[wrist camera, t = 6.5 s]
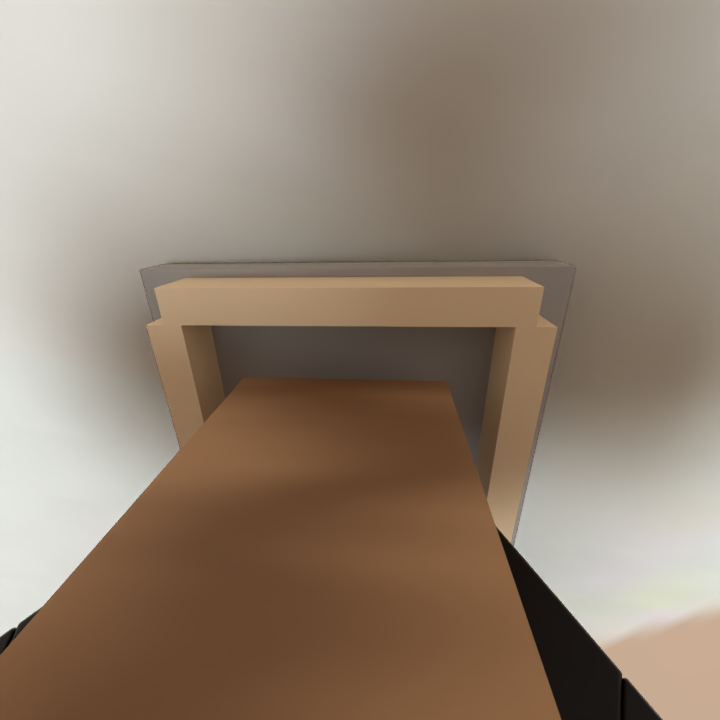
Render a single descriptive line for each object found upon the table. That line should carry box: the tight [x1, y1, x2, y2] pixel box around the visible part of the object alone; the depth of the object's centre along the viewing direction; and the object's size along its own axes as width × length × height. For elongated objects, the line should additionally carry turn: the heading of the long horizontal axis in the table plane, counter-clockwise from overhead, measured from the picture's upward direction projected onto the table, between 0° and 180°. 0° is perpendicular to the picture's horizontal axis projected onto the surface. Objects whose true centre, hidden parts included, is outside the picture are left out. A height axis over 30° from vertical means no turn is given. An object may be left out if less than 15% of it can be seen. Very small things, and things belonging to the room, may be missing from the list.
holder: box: [140, 260, 576, 546], centre depth 10 cm, size 23×10×7 cm, turn 1°
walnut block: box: [0, 377, 561, 720], centre depth 6 cm, size 4×4×6 cm
